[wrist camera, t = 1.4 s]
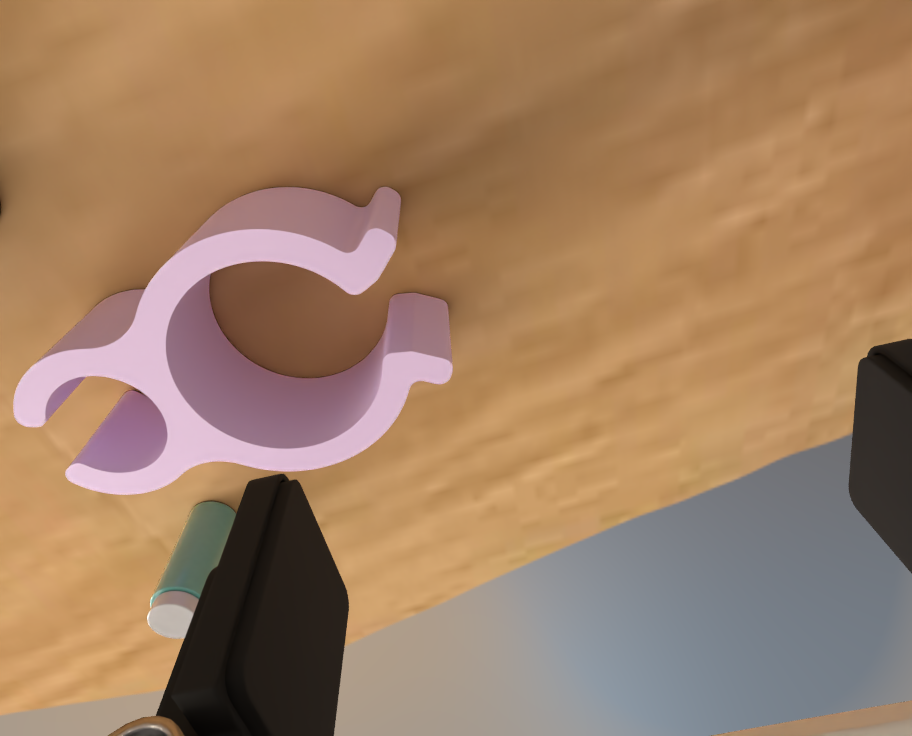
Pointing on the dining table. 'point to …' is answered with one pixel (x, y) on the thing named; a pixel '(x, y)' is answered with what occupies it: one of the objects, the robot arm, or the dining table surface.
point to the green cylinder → (189, 568)
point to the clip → (224, 368)
